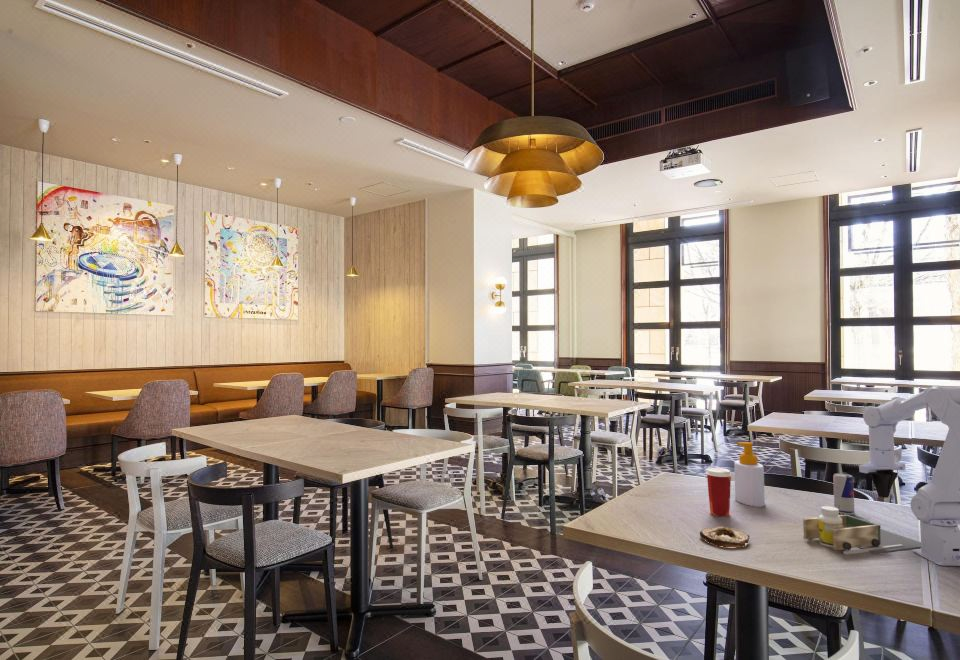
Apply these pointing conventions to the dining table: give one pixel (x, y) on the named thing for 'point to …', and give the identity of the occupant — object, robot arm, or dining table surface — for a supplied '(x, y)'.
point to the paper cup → (719, 490)
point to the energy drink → (844, 493)
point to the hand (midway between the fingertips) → (883, 496)
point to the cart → (847, 532)
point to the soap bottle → (749, 478)
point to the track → (887, 544)
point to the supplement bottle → (828, 524)
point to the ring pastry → (725, 536)
